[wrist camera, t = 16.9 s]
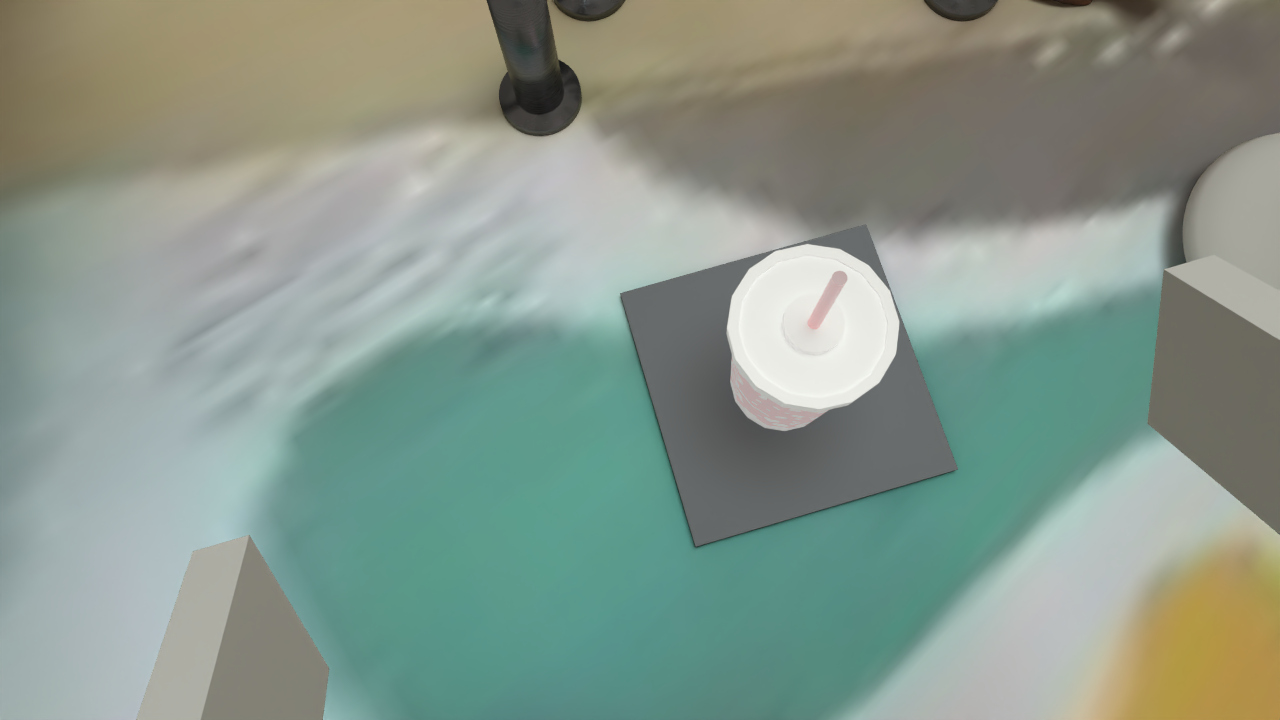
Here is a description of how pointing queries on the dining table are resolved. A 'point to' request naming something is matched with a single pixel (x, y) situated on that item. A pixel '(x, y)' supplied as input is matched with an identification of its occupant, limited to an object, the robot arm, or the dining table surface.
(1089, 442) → the dining table surface
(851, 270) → the beverage cup
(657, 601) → the dining table surface
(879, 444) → the mat
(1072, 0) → the pottery mug
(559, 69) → the posts
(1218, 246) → the flower in vase
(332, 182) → the dining table surface
